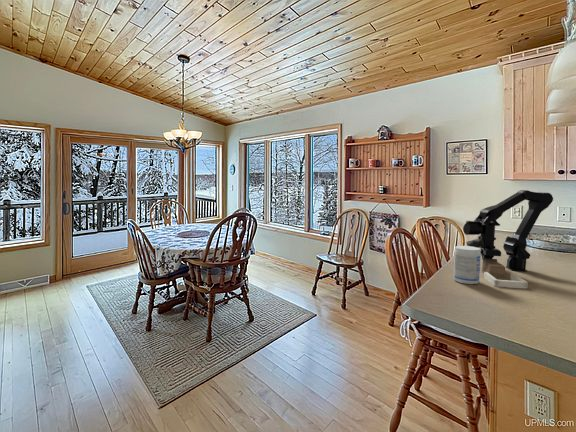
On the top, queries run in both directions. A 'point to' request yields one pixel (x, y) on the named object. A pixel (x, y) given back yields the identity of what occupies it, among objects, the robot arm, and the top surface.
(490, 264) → the block
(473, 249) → the supplement tub
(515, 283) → the bay
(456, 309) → the top surface
